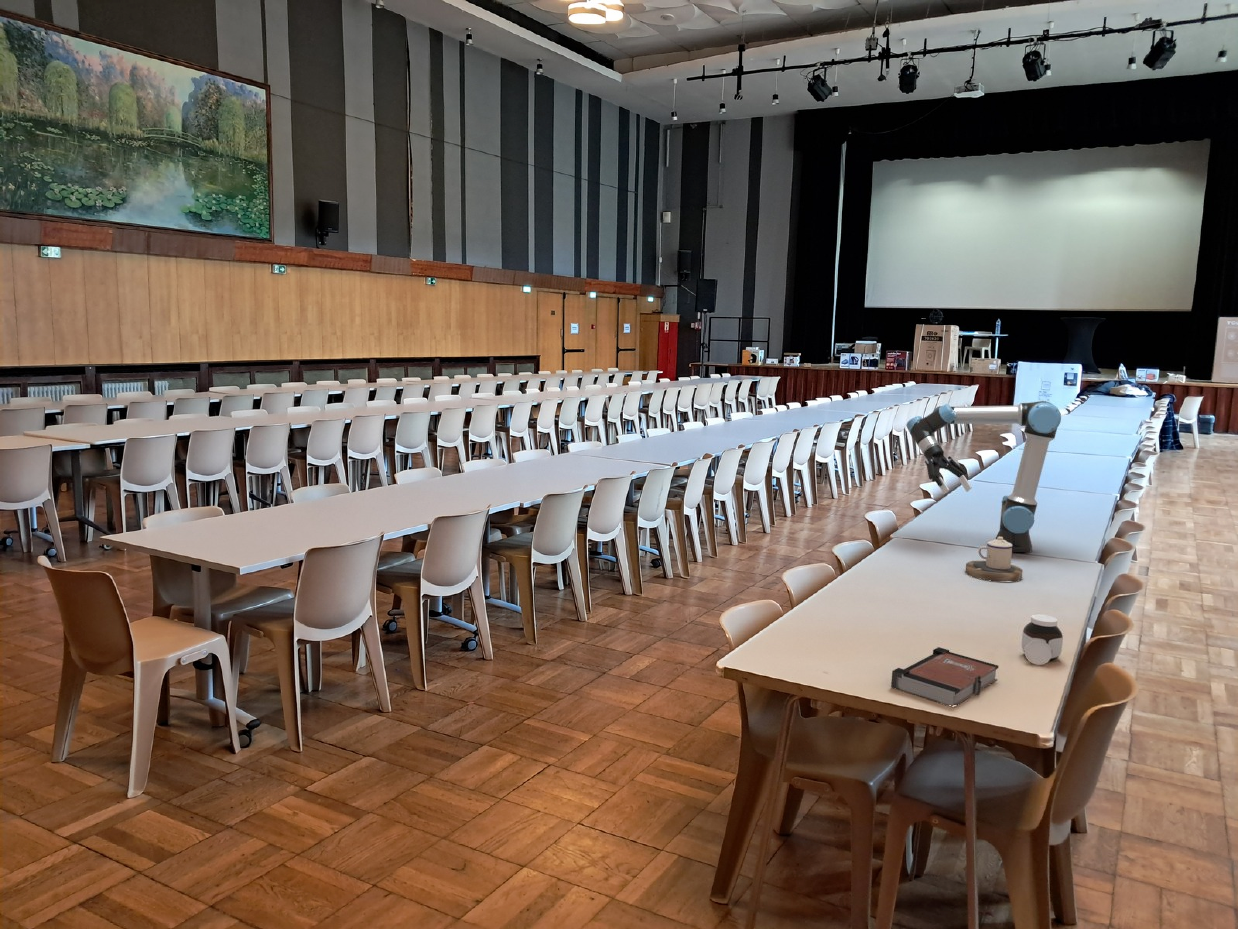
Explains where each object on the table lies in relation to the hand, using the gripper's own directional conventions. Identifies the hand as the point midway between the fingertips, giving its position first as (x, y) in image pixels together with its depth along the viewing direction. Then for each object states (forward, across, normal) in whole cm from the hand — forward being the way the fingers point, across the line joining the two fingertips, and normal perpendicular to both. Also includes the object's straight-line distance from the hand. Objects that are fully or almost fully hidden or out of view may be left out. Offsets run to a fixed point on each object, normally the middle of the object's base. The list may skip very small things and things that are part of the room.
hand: (958, 490), depth 366 cm
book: (+84, +112, +44) cm, 148 cm away
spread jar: (+84, +73, +45) cm, 120 cm away
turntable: (+38, +8, -1) cm, 39 cm away
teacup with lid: (+35, +8, +1) cm, 36 cm away
